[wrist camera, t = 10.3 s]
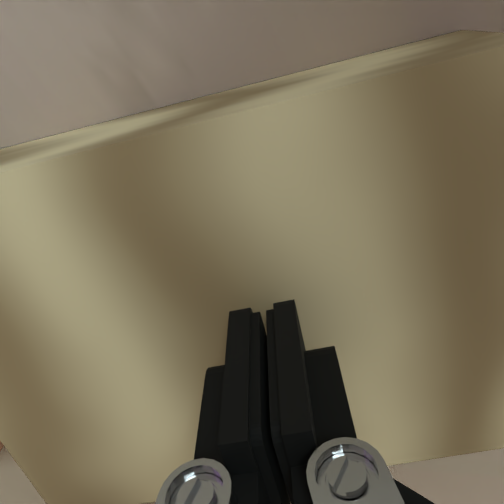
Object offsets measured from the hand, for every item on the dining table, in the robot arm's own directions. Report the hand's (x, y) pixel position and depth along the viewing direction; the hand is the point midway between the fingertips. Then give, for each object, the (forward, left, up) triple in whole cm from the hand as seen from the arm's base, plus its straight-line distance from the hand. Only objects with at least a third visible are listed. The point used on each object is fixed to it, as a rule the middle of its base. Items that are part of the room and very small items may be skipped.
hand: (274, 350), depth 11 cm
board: (+1, 0, -5) cm, 5 cm away
